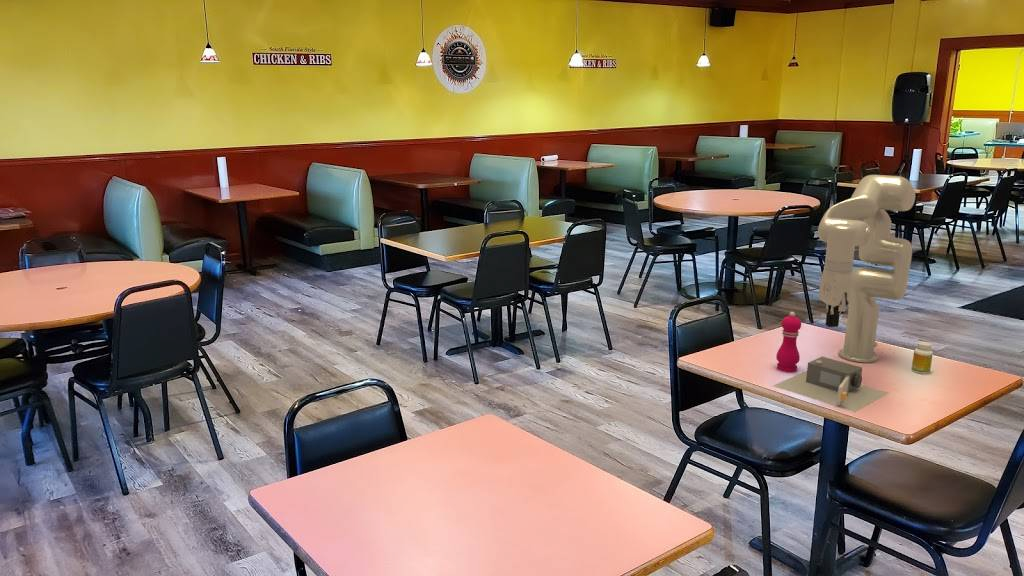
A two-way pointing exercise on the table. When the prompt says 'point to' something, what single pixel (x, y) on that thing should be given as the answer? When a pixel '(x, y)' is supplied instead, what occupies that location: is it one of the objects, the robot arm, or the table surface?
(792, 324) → the pepper mill
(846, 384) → the side door
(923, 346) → the supplement bottle
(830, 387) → the camera body
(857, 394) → the mat
